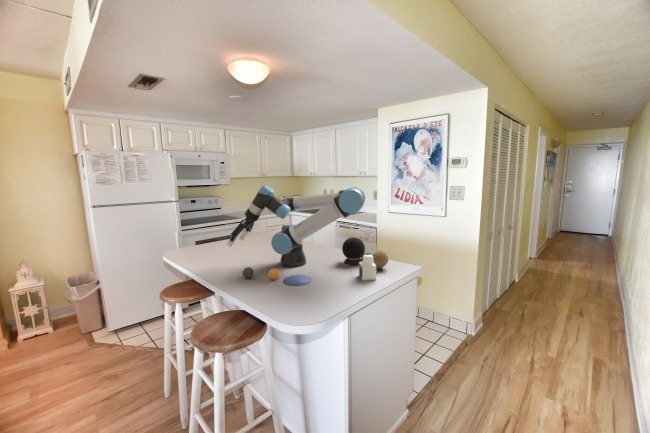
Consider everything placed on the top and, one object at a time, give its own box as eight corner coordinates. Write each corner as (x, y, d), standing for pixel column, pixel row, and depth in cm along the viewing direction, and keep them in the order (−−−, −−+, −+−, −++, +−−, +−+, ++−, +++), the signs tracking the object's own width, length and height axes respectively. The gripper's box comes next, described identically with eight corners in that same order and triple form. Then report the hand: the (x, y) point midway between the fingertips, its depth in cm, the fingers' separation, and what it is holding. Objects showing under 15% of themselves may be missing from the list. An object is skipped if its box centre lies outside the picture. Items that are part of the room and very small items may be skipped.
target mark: (314, 275, 147) (314, 275, 147) (307, 286, 133) (307, 286, 133) (288, 274, 149) (288, 274, 149) (279, 285, 136) (279, 284, 136)
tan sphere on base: (390, 271, 151) (390, 252, 149) (373, 271, 150) (373, 253, 149) (385, 265, 160) (385, 248, 158) (369, 266, 159) (369, 249, 158)
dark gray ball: (255, 276, 148) (255, 266, 148) (251, 280, 143) (250, 269, 142) (245, 275, 149) (245, 265, 149) (240, 279, 144) (240, 269, 143)
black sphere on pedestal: (339, 265, 163) (339, 239, 161) (345, 258, 175) (345, 234, 173) (362, 267, 158) (362, 240, 156) (367, 260, 170) (367, 235, 168)
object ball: (281, 277, 146) (280, 267, 145) (277, 281, 140) (277, 270, 140) (271, 276, 147) (270, 266, 146) (267, 280, 141) (266, 270, 141)
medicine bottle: (359, 275, 146) (358, 252, 144) (372, 274, 146) (372, 251, 145) (362, 280, 139) (361, 256, 137) (376, 279, 139) (376, 255, 138)
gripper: (258, 204, 166) (240, 233, 171) (237, 210, 142) (217, 243, 147) (268, 212, 166) (250, 240, 170) (249, 219, 141) (229, 252, 146)
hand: (235, 242), depth 159 cm, fingers open, 13 cm apart
